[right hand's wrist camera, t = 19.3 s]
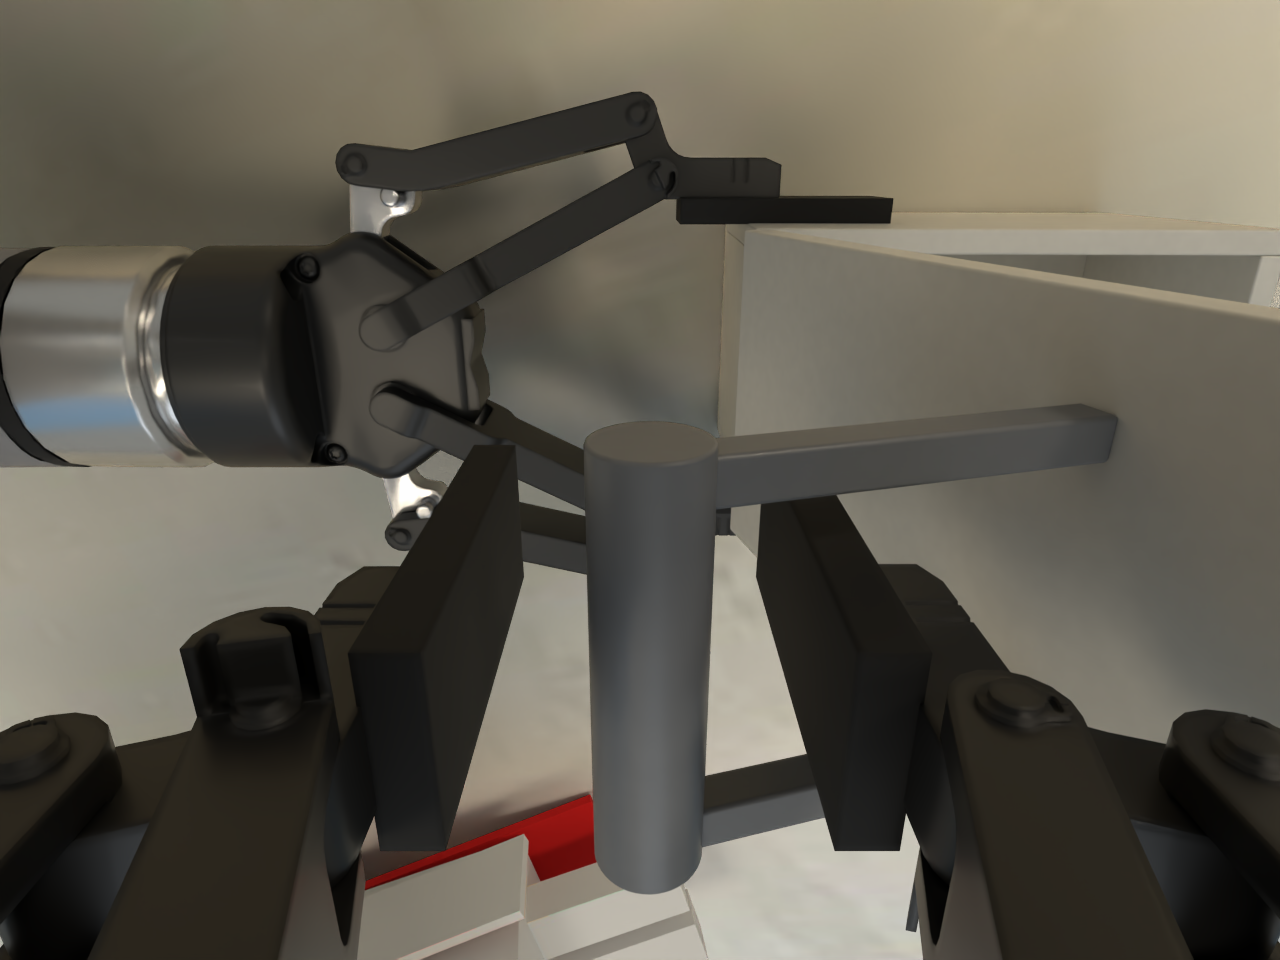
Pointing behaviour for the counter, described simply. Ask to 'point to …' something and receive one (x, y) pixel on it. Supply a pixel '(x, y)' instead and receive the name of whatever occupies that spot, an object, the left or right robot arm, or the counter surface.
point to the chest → (1039, 258)
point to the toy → (524, 902)
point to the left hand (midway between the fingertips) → (862, 358)
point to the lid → (943, 509)
